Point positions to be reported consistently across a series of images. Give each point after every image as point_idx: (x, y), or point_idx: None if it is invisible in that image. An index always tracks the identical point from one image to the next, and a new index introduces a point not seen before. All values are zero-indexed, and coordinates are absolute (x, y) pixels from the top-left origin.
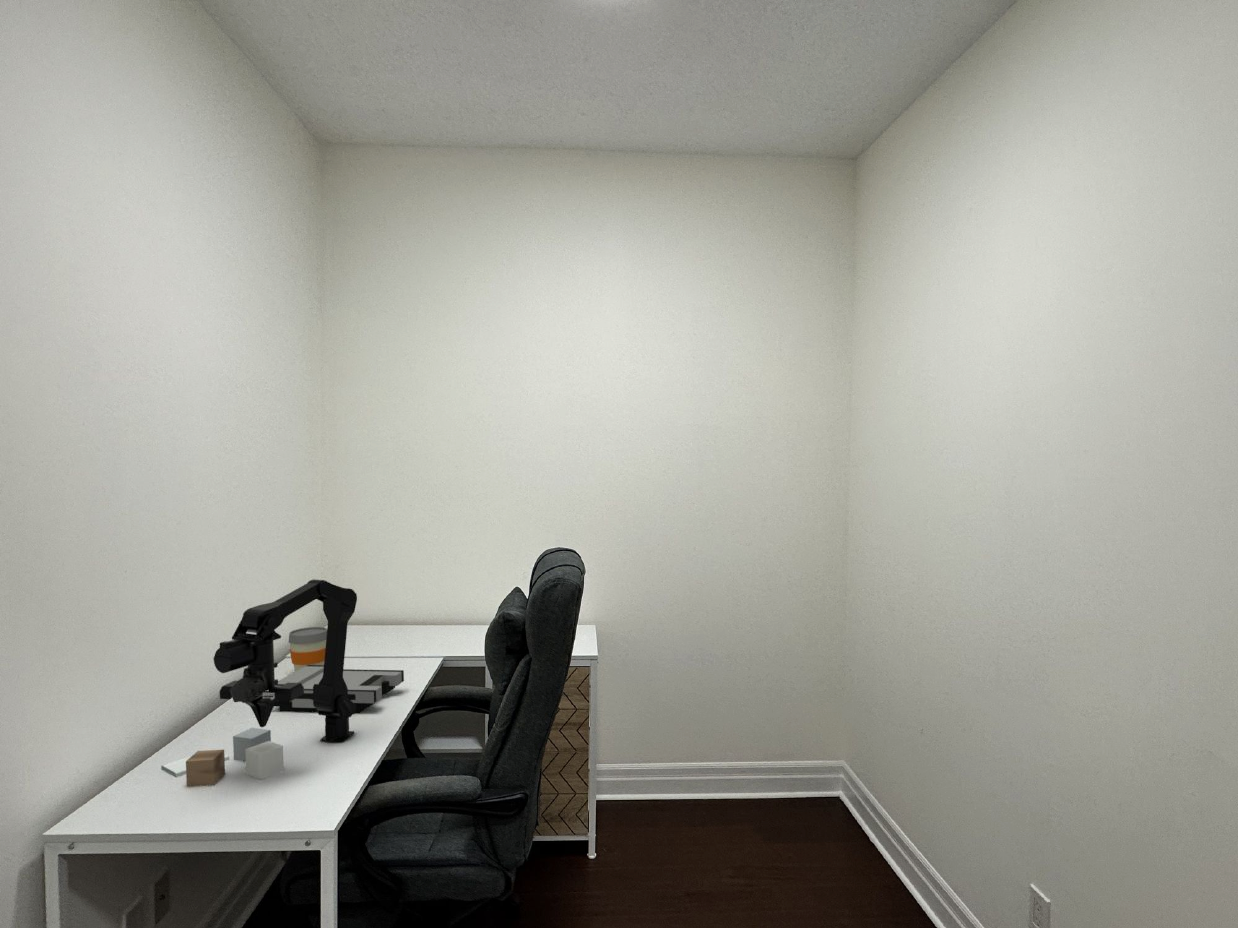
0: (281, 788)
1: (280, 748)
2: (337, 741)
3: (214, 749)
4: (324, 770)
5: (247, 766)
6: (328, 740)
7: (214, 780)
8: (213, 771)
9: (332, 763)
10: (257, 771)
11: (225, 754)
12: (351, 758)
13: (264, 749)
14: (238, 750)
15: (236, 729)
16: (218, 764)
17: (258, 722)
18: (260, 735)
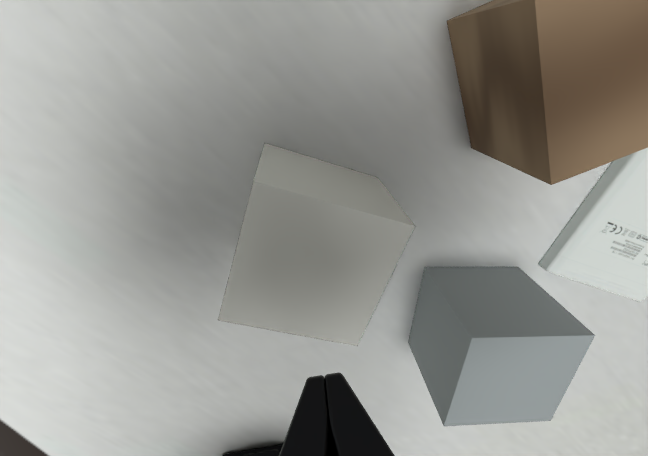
0: (59, 79)
1: (223, 300)
2: (237, 453)
3: (637, 298)
4: (61, 289)
5: (373, 185)
6: (271, 449)
7: (458, 27)
8: (484, 11)
9: (96, 341)
10: (283, 157)
11: (569, 276)
12: (68, 387)
13: (286, 253)
14: (517, 290)
15: (634, 424)
16: (502, 86)
17: (357, 406)
18: (456, 378)
